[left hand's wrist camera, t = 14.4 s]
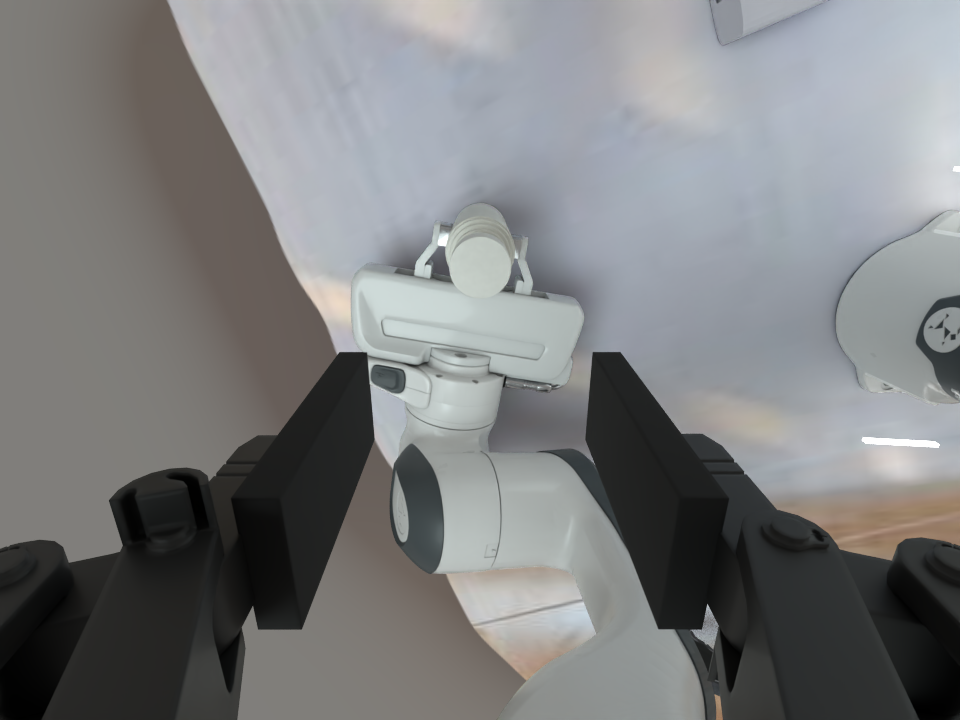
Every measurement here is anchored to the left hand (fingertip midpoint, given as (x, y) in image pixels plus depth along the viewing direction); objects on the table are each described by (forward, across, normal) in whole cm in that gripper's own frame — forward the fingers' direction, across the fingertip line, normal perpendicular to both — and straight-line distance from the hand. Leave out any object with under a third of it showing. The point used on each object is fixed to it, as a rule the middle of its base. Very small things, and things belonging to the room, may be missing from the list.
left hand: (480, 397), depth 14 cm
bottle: (+37, 0, 0) cm, 37 cm away
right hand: (+31, 0, -1) cm, 31 cm away
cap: (+19, 0, 0) cm, 19 cm away
